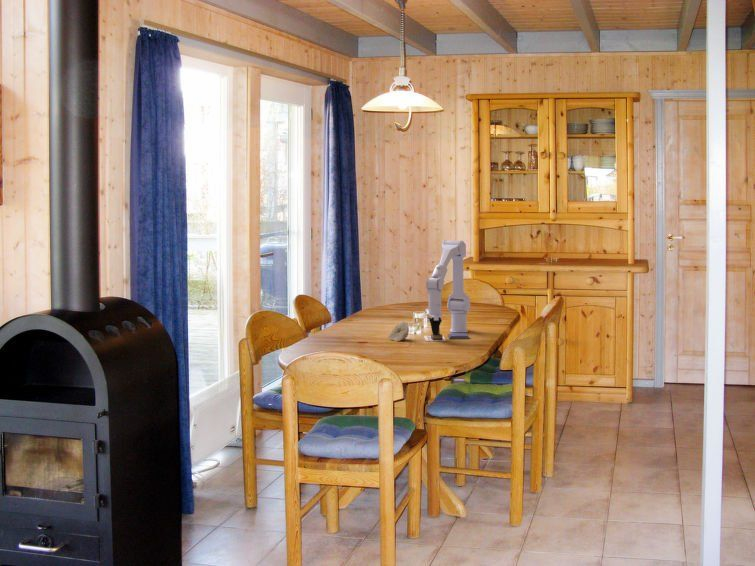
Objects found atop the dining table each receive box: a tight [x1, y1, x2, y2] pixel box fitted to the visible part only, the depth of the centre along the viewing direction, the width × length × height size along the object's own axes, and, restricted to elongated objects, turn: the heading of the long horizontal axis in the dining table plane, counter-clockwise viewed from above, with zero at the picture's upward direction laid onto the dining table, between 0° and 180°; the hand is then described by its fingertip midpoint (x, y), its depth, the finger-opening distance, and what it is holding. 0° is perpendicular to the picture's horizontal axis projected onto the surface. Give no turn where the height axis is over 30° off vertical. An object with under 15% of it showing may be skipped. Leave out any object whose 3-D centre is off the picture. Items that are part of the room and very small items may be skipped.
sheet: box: [423, 335, 447, 342], centre depth 426 cm, size 14×9×1 cm, turn 1°
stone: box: [388, 321, 410, 342], centre depth 424 cm, size 10×7×10 cm
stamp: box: [430, 327, 444, 340], centre depth 422 cm, size 4×4×6 cm
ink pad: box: [447, 332, 470, 340], centre depth 428 cm, size 9×9×1 cm
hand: (435, 334), depth 422 cm, fingers closed on stamp, 3 cm apart
